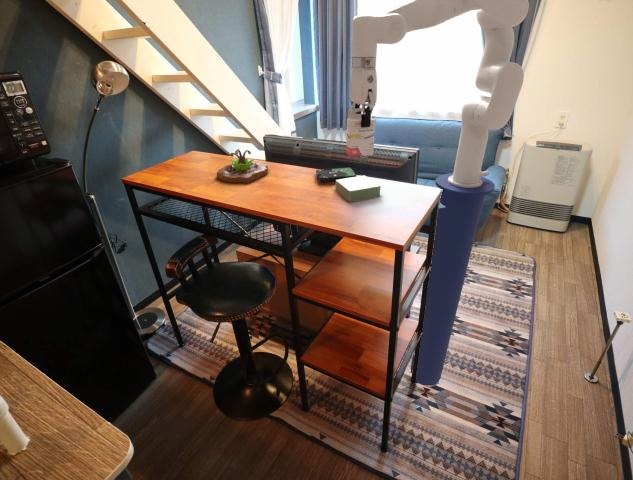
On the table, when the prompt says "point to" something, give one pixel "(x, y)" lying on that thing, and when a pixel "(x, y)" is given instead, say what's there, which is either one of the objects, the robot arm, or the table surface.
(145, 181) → the table surface
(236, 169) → the plant
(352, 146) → the ink cartridge box
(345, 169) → the disk drive
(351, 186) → the green block
